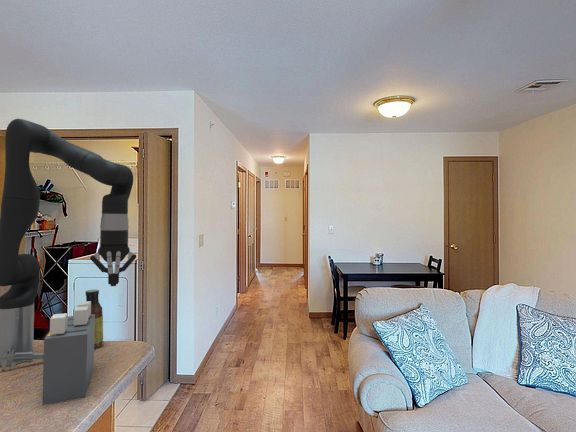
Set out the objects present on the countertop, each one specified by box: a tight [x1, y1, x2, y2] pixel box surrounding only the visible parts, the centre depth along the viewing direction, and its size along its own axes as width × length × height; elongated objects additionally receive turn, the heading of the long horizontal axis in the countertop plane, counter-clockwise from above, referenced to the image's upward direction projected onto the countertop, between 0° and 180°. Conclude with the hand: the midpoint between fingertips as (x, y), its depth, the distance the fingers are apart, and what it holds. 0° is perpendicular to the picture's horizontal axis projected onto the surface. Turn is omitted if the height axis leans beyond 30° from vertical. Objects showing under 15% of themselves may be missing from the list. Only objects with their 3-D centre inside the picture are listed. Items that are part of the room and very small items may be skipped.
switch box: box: [41, 314, 95, 406], centre depth 90 cm, size 9×19×16 cm, turn 25°
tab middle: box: [73, 306, 89, 325], centre depth 91 cm, size 3×4×4 cm
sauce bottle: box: [85, 288, 104, 350], centre depth 115 cm, size 7×6×20 cm
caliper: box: [1, 350, 44, 372], centre depth 102 cm, size 20×1×6 cm, turn 128°
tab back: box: [76, 300, 91, 318], centre depth 96 cm, size 3×4×4 cm
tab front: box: [49, 312, 68, 335], centre depth 84 cm, size 3×4×4 cm
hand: (113, 285), depth 100 cm, fingers closed
